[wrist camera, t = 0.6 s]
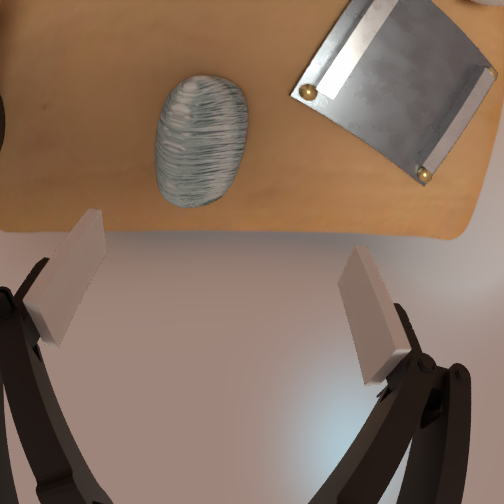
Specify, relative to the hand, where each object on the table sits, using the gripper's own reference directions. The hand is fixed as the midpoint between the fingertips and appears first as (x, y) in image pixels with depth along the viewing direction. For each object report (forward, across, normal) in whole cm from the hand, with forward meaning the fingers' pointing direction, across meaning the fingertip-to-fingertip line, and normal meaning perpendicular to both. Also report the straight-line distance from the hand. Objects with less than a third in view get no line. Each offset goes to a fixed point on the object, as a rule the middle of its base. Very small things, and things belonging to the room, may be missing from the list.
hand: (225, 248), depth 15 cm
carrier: (+20, +17, +12) cm, 29 cm away
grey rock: (+21, -4, 0) cm, 21 cm away
